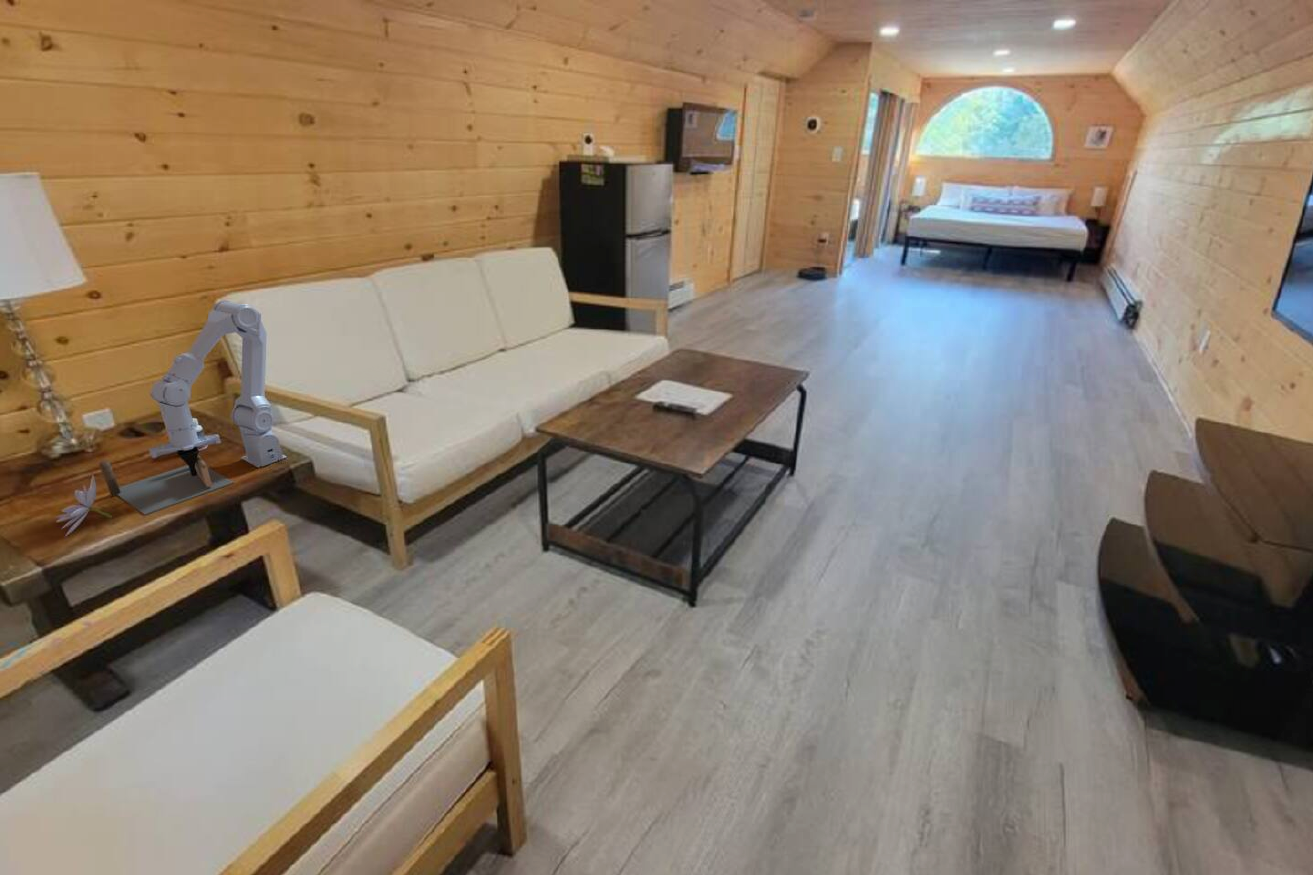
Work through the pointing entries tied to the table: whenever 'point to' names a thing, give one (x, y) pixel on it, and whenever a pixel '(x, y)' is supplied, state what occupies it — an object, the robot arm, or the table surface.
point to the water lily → (81, 507)
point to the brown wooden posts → (110, 478)
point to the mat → (169, 489)
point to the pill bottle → (199, 433)
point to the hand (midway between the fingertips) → (194, 474)
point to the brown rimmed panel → (203, 471)
